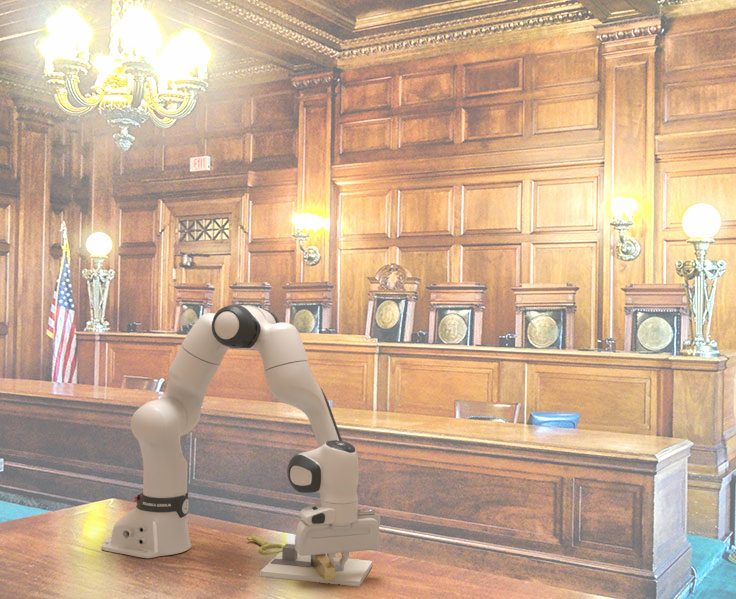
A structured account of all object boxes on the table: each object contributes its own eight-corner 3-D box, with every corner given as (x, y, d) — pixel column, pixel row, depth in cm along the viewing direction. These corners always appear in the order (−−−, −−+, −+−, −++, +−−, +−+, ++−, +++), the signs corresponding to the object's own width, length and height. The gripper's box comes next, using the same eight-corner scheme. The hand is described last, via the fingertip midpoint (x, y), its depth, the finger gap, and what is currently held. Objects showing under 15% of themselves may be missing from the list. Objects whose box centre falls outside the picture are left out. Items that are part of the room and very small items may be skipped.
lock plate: (260, 576, 188) (260, 557, 188) (279, 556, 202) (280, 539, 202) (359, 586, 183) (360, 567, 183) (372, 565, 198) (372, 548, 198)
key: (252, 542, 215) (252, 534, 215) (288, 551, 209) (288, 543, 209) (234, 548, 209) (234, 540, 209) (270, 558, 202) (270, 549, 202)
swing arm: (309, 562, 194) (309, 547, 194) (323, 561, 195) (323, 546, 195) (322, 581, 181) (322, 565, 181) (337, 580, 182) (337, 564, 182)
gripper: (376, 505, 192) (374, 562, 192) (293, 510, 186) (292, 570, 186) (385, 512, 186) (383, 571, 186) (300, 518, 180) (298, 579, 180)
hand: (337, 570), depth 186 cm, fingers closed
